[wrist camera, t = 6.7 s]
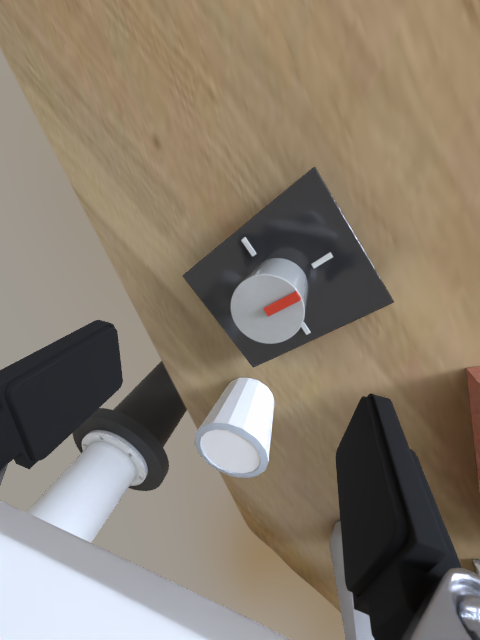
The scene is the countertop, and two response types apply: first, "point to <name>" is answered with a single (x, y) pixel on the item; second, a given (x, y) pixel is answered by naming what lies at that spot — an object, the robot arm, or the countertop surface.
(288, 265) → the hob knob
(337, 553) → the salt shaker
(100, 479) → the robot arm
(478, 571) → the skyscraper
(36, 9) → the countertop surface
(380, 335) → the countertop surface
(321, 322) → the hob panel
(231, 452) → the shot glass
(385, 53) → the countertop surface
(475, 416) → the house
